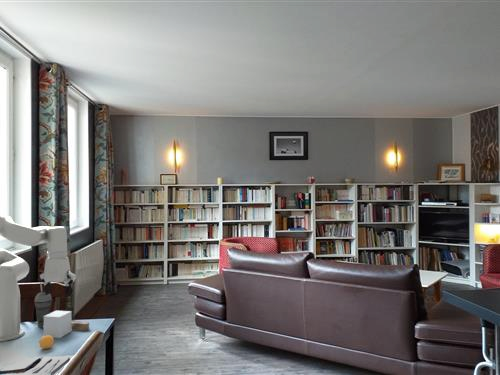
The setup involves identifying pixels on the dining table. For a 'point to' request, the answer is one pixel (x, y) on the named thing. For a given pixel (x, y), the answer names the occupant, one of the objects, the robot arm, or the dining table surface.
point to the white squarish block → (58, 323)
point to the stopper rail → (80, 325)
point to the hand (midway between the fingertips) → (58, 294)
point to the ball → (46, 341)
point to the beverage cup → (42, 306)
